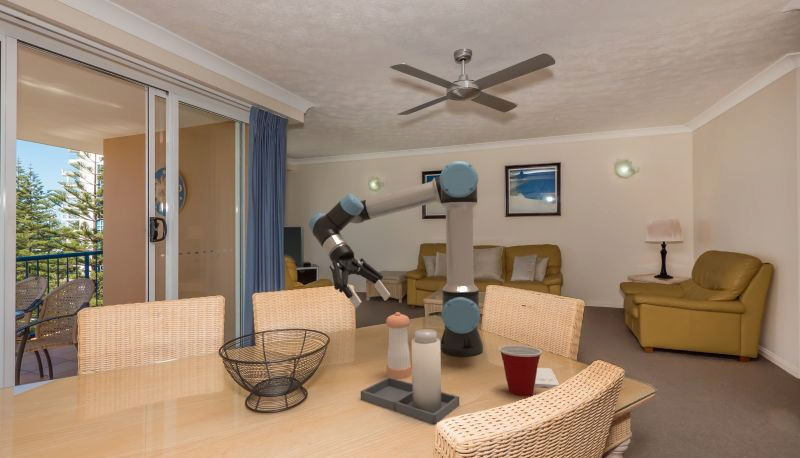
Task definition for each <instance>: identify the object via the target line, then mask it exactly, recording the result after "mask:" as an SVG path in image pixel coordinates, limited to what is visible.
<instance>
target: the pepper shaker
mask: <svg viewBox="0 0 800 458" xmlns="http://www.w3.org/2000/svg"><path fill="white" fill-rule="evenodd" d="M410 323H411V321H410V318H409V316H407V315H405V314H402V313H401V312H399V311H397V312H395V313H394V314H392V315H391V314H390V315H389V316H388V317H387V318H386V319H385V324H386V326H387V327H388V346H387V365H386V378H388V377H391V378H394V379H398V380H403V379H408V378H410V377H411V376H412V363H411V361H410V360H411V352H410V347H409V342H408V327H409V325H411V324H410Z"/></svg>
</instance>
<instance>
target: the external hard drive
mask: <svg viewBox="0 0 800 458" xmlns="http://www.w3.org/2000/svg"><path fill="white" fill-rule="evenodd" d="M559 384H560V382H559V381H558V379H557V377H556V376H555V373H554V371H553V369H552V368H551V367H537V374H536V380H535V384H534V388H546V389H553V388H552V387H555V386H557V385H559Z"/></svg>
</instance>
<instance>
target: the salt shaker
mask: <svg viewBox="0 0 800 458" xmlns="http://www.w3.org/2000/svg"><path fill="white" fill-rule="evenodd" d="M440 342H441V339H440V338H439V337H438V333H437V330H435V329H429V328H423V329H422V328H420V329H417V330H415V331H414V338H412V339H411V376H412V378H411V379H412V380H411V383H412V390H413V407H415V408H418V409H421V410H424V411H427V412H430V413H433V414H434V413H435V412H437V411H438V410H439V409H441V408H442V405H441V392H442V366H441V363H442V361H441V359H442V358H441V356H442V355H441V354H442V351H441V350H440Z"/></svg>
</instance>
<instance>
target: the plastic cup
mask: <svg viewBox="0 0 800 458" xmlns="http://www.w3.org/2000/svg"><path fill="white" fill-rule="evenodd" d="M498 350H499V353H500V355H501V358H502V363H503V367H504V368H503V369H504V372H505V374H504V375H505V379H506V383H507V388H508V392H509V393H510V394H512V395H515V396H519V397H527V396H528V397H531V396H532V397H533V396H534V395H533V394H534V391H535V390H534V389H535V387H534V384H535V380H536V374H537V368H539V367H538V366H539V361H540V357H541V355H542V354H543V351H542V350H541V349H540V348H538V347H533V346H528V345H520V344H518V345H517V344H511V345H510V344H507V345H502V346H499V347H498Z"/></svg>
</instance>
